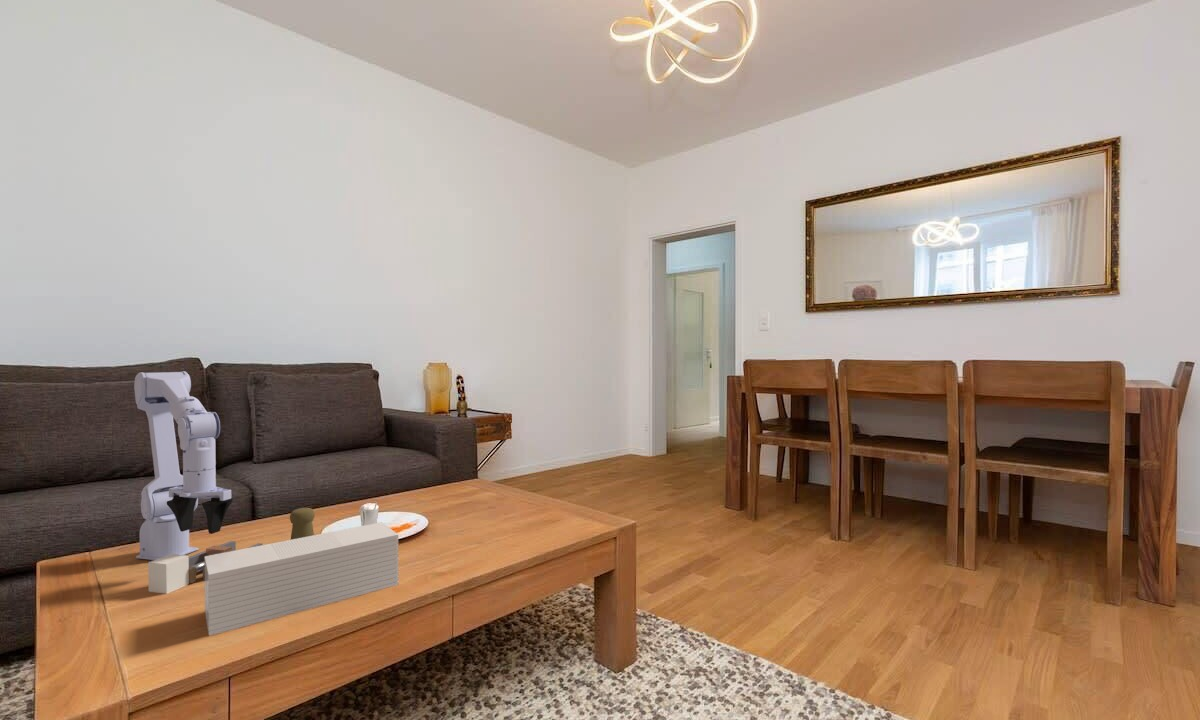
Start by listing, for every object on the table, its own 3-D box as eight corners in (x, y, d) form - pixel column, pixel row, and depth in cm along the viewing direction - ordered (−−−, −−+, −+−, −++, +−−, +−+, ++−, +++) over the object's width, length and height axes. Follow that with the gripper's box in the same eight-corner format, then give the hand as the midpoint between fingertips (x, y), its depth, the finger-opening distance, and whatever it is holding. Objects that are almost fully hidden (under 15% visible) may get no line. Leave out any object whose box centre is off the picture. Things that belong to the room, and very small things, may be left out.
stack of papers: (382, 569, 120) (382, 522, 120) (398, 585, 112) (398, 534, 112) (205, 613, 100) (204, 556, 100) (208, 637, 92) (208, 574, 91)
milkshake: (368, 543, 136) (368, 504, 136) (356, 539, 139) (355, 501, 139) (384, 538, 140) (384, 500, 140) (371, 534, 143) (371, 497, 143)
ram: (168, 580, 113) (168, 561, 113) (212, 562, 123) (212, 545, 123) (191, 583, 112) (191, 564, 112) (234, 564, 122) (233, 547, 122)
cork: (304, 560, 125) (303, 513, 125) (282, 558, 126) (281, 511, 126) (322, 550, 131) (322, 506, 131) (301, 549, 132) (300, 504, 132)
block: (148, 591, 109) (148, 562, 109) (171, 582, 113) (171, 554, 113) (166, 593, 108) (166, 564, 108) (188, 584, 112) (188, 555, 112)
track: (173, 576, 116) (173, 562, 116) (231, 553, 130) (231, 540, 130) (207, 580, 114) (207, 566, 114) (262, 556, 128) (262, 543, 128)
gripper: (154, 471, 115) (154, 534, 115) (210, 474, 112) (210, 539, 112) (186, 464, 121) (186, 524, 122) (239, 467, 118) (240, 528, 119)
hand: (200, 531), depth 117 cm, fingers open, 7 cm apart
